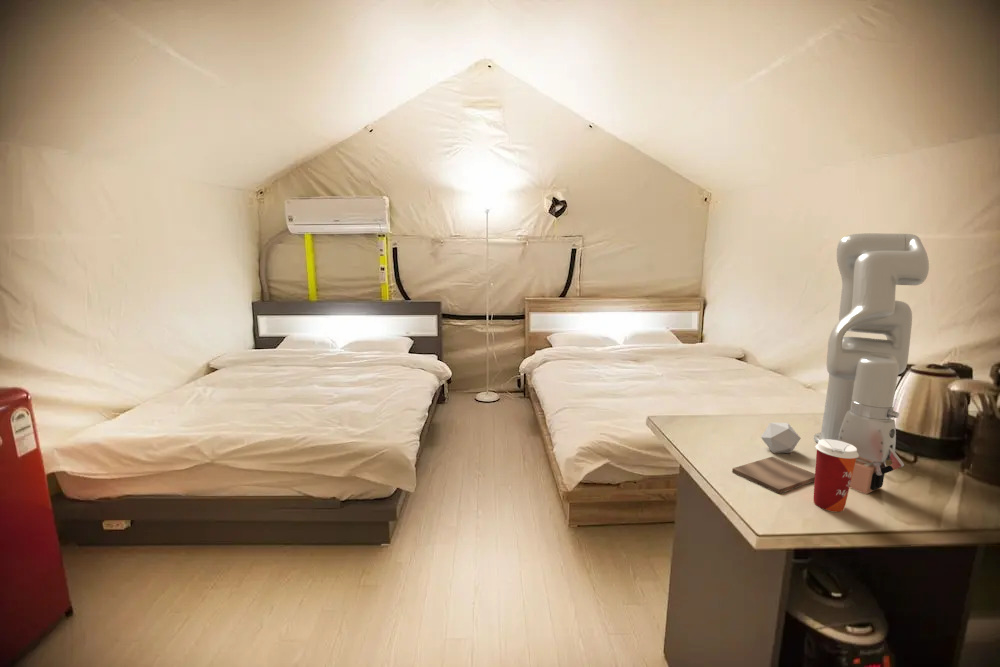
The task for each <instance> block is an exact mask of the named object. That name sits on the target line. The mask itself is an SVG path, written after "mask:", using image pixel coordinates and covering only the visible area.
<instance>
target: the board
mask: <svg viewBox="0 0 1000 667" xmlns="http://www.w3.org/2000/svg"><path fill="white" fill-rule="evenodd" d="M731 473H733V474H736V475H737V476H740V477H742V478H743V479H746V480H749V481H751V482H753V483H754V484H757V485H759V486H761V487H764V488H765V489H768V490H771V491H772V492H775V493H776V494H782V493H785V492H788V491H790V490H793V489H796V488H799V487H801V486H805V485H806V484H809V483H813V482H815V472H812V471H809V470H807V469H804V468H802V467H799V466H797V465H793V464H792V463H789V462H786V461H783V460H781V459H779V458H776V457H775V456H769V457H766V458H763V459H760V460H756V461H753V462H750V463H747V464H742V465H739V466H736V467H733V468H732V470H731Z"/></svg>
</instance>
